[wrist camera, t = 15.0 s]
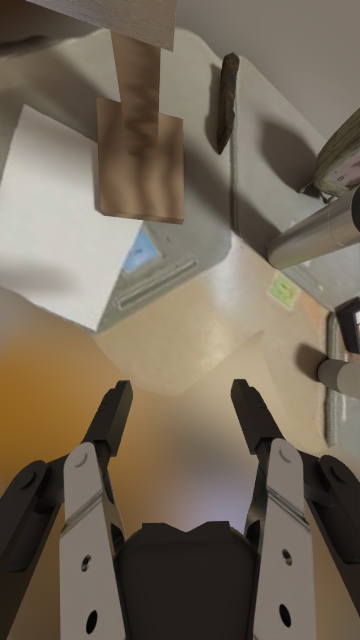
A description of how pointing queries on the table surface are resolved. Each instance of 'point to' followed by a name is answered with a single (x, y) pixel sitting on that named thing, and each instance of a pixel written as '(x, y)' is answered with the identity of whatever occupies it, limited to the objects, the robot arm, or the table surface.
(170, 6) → the bar
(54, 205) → the table surface
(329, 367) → the smart speaker
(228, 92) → the hand tool
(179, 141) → the stand
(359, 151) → the tabletop clock
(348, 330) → the red black flat block
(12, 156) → the table surface
